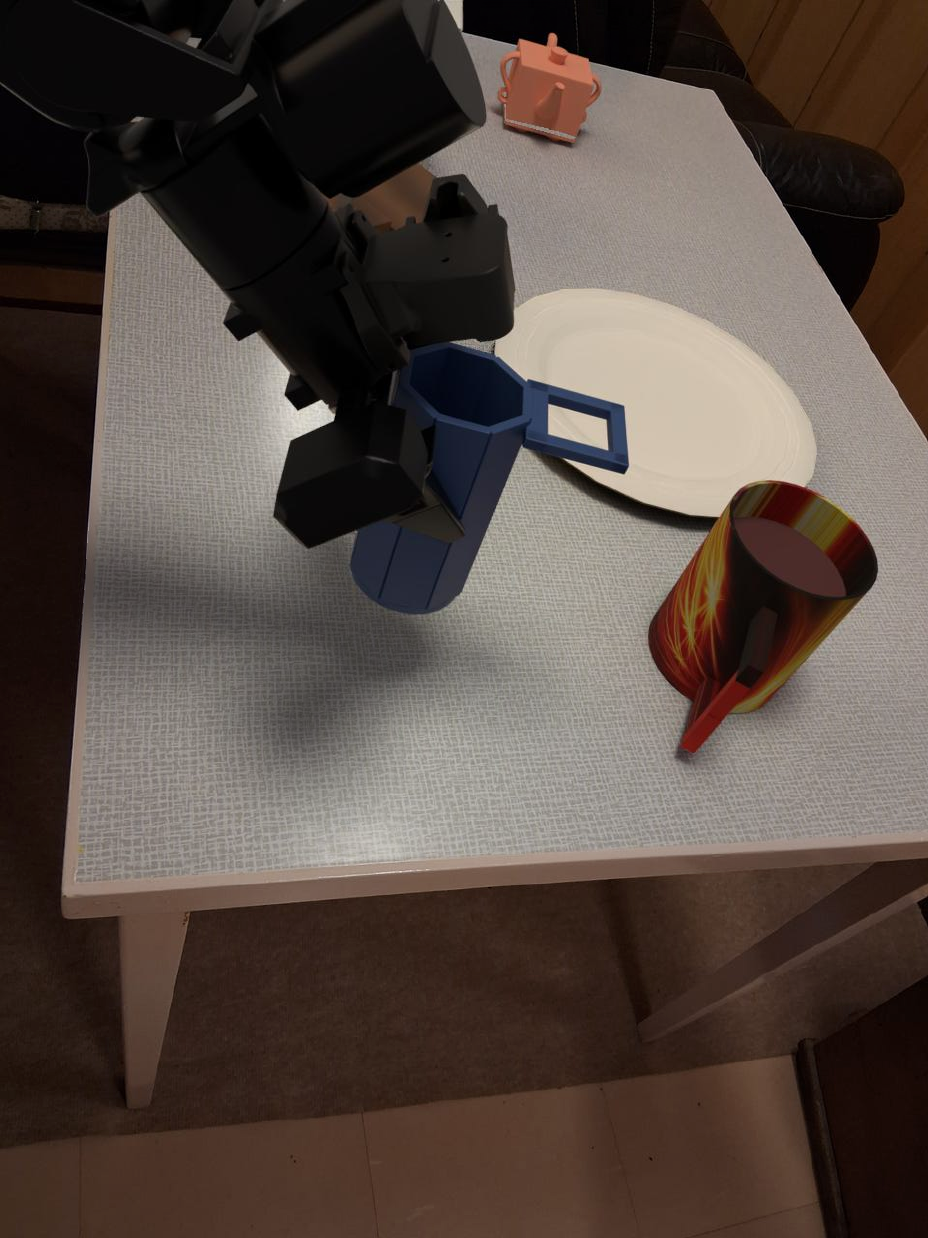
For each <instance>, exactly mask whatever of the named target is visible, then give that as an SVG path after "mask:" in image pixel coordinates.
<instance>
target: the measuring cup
mask: <svg viewBox="0 0 928 1238" xmlns="http://www.w3.org/2000/svg"><path fill="white" fill-rule="evenodd" d="M409 351H410V352H411V353H410V360H409V365H407V366H405V367H403V368H401V369H400V370H399V374H398V378H397V381H396V387H395V393H394V399H393V406H395V407H399V408H403V409H406V410H407V411H408V412H409V414H410V415H411V416H412V418H413V419H414V420H415V422H416V423H417V424H418V426H419V427H420V429H421V430H423V429H426V428H428V427H430V426H433V425H436V428H437V429H436V438H435V448H434V457H433V465H432V470H433V471H434V473H435V475H436V477H437V478H438V480H439V482H440V484H441V485H442V487H443V489H444V491H445V492H446V494H447V496H448V498H449V499H450V501H451V503H452V505H453V506H454V508H455V510H456V512H457V514H458V516H459V518H460V520H461V522H462V524H463V526H464V528H465V537H464V538H462V539H460V540H457V541H454V542H452V543H445V542H442V541H440V540H437V539H434V538H431V537H428V536H425V535H423V534H420V533H417V532H414V531H411V530H409V529H406V528H403V527H400V526H397V525H394V524H392V523H388V522H385V521H379V522H377V523H374V524H372V525H369V526H367V527H364V528H362V529H359V530H357V531H355V534H354V539H353V545H352V548H351V549H352V550H351V554H350V558H349V565H348V566H349V569H350V574H351V577H352V579H353V581H354V583H355V584H356V586H357V587H358V589H359V590H360V591H361V593H363V594H364V596H366V597H367V598H368V599H369V600H371V601H372V602H374V603H375V604H377V605H378V606H381V607H382V608H384V609H387V610H389V611H392V612H395V613H400V614H404V615H414V616H417V615H418V616H419V615H422V616H423V615H428V614H429V615H430V614H432V613H437V612H438V611H441V610H443V609H444V608H447V607H448V606H449V605H450V604H451V603H453V601H454V600H455V599H456V597H458V596H460V595H461V593H463V591H464V588H465V585H466V582H467V580H468V577H469V575H470V574H471V573H470V572H471V570H472V568H473V565H474V563H475V561H476V558H477V555H478V553H479V550H480V549H481V546H482V543H483V541H484V538H485V536H486V534H487V531H488V530H489V526H490V524H491V522H492V519H493V516H494V514H495V511H496V510H497V506H498V503H499V502H500V499H501V497H502V494H503V492H504V489H505V487H506V484H507V482H508V479H509V477H510V474H511V472H512V470H513V467H514V464H515V462H516V460H517V457H518V455H519V453H520V450H521V447H522V448H523V449H525V450H526V449H527V450H530V451H534V452H538V453H541V454H546V455H549V456H552V457H556V458H558V457H560V458H564V459H567V460H571V461H575V462H579V463H582V464H586V465H590V466H594V467H597V468H601V469H605V470H609V471H612V472H616V473H620V474H625V473H626V471H627V469H628V467H629V458H628V446H627V434H626V422H625V407H624V405H620V404H617V403H613V402H609V401H606V400H602V399H599V398H595V397H592V396H588V395H584V394H581V393H577V392H574V391H570V390H566V389H563V388H559V387H556V386H552V385H549V384H545V383H541V382H538V381H534V380H531V379H528V380H527V382H526V381H525V380H524V379H523V378H522V377H521V376H520V375H519V374H517V373H516V372H515V371H514V370H513V369H512V368H511V367H510V366H509V365H507V364H506V363H505V362H504V361H503V360H502V359H501V358H500V357H496V355H494V353H490V352H487V351H483V350H480V349H476V348H472V347H469V346H465V345H462V344H458V343H456V342H444V343H436V344H432V345H428V346H424V347H420V348H417V349H413V350H409ZM548 404H550V405H554V406H558V407H561V408H565V409H569V410H572V411H576V412H579V413H583V414H587V415H590V416H594V417H598V418H601V419H605V420H606V422H607V438H608V450H605V449H601V448H598V447H594V446H590V445H587V444H583V443H579V442H576V441H572V440H568V439H564V438H561V437H557V436H553V435H550V434H548ZM560 458H559V459H560Z"/></svg>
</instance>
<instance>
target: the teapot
mask: <svg viewBox="0 0 928 1238" xmlns="http://www.w3.org/2000/svg"><path fill="white" fill-rule="evenodd" d="M557 45H558V36H557V34H556V33H554V32H550V33H549V34H548V37H547V42H546V45H543V44H539V43H537V42H533V41H530V40H525V39H523V38H519V39H518V42H517V45H516V48H515V50H513V51H509V52H508V53H506V54H505V55H504V56H503V57H502V58H501V61H500V63H499V71H500V72H499V73H500V76H501V79H502V82H503V87H502V86H501V87H500V88H499V89H498V91H497V96H496V97H497V99H498V101H499V102H500V103H502V105H503V107H502V108H503V118H504V119H503V121H504V125H506V126H509V127H510V126H511V127H513V128H514V129H516V131H518V132H521V133H528V132H532V133H534V134H535V133H536V134H539V135H543V136H546V137H547V138H548V139H549V140H552V141H553V142H558V141H559V142H560V140H561V141H565V142H569V143H573V144H575V142H576V139H575V140H573V139H569V138H565V137H562V136H558V135H555V134H551V133H547V132H544V131H540V130H536V129H533V128H529V127H526V126H522V125H518V124H515V123H511V122H507V121H505V107H504V104H506V119H509V120H514V121H517V122H521V123H527V124H531V125H535V126H539V127H544V128H548V129H549V130H554V131H559V132H562V133H565V134H568V135H571V136H574V137H576V138H578V137H577V136H578V133H579V131H580V128H581V125H582V124H583V123H585V122H586V121H587V116H588V113H587V112H586V111H587V109H588V108H589V107H590V106H591V105H593V103H595V102H596V101H597V100H598V99H599V97H600V96H601V93H602V82H601V80H600V78H599V77H598V75H597V74H596V73H593V72H592V70H591V65H590V61H589V60H590V59H589V58H587V57H583V56H580V55H577V54H573V53H570V52H569V51H568V50H566V49H565V48H563V47H561V46H557ZM511 60H512V63H511V65H510V69H509V73H507V63H508V62H509V61H511ZM594 84H595V85H594ZM595 86H596V87H595ZM594 87H595V90H594ZM593 90H594V92H593ZM504 92H506V97H504Z"/></svg>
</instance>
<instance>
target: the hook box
mask: <svg viewBox="0 0 928 1238" xmlns="http://www.w3.org/2000/svg"><path fill="white" fill-rule="evenodd" d="M437 177H438V176H436V175H434V174H433V173H432V172H430V171H429V169H428V170H427V169H425V168H424V167H423V166H421V165H420V164H419V163H418V164H416V165H414V166H412V167H411V168H409V169H407V170H405V171H404V172H402V173H400V174H398V175H397V176H395V177H393V178H391V179H390V180H388V181H386V182H384V183H382V184H381V185H379V186H377V187H375V188H374V189H372V190H370V191H368V192H367V193H365V194H363V195H361V196H360V197H356V198H350V197H348V196H345V195H343V194H341V193H340V194H338V195H336V196H335V197H333V198H331V199H329V198H327V197H326V196H325V195H324V197H325V198H326V200H327V201H328V203H329V204H330V205H331V207H332V208H333V210H334V211H336V210H338V209H340V208H342V207H343V206H345V205H347V204H349V203H350V204H351V206H352V207H353V209H354V210H355V211H357V210H359V209H360V210H362V211H363V212H364V214H365V215H366V217H367V218H368V220H369V221H370V223H371V224H372V226H373V227H374V228H375V229H376V230H377V231H378V233H384V232H389V231H393V230H397V229H399V228H401V227H403V226H404V225H405V222H406V217H411V216H415V218H416V223H421V221H422V218H423V214H424V209H425V205H426V202H427V198H428V195H429V191H430V188H431V184H432V181H433V179H435V178H437Z"/></svg>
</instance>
